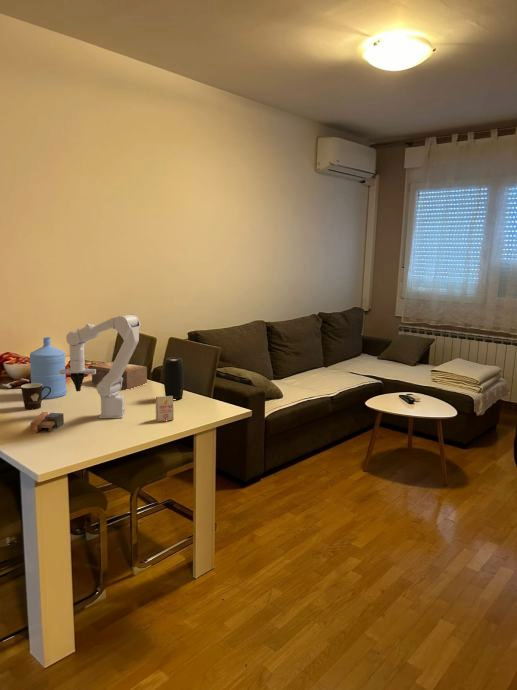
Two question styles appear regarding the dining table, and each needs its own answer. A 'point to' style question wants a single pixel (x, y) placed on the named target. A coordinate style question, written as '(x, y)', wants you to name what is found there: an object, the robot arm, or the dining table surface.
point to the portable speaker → (174, 377)
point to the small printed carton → (164, 408)
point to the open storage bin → (56, 419)
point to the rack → (42, 423)
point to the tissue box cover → (130, 376)
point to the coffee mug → (33, 395)
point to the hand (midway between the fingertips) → (78, 390)
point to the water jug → (48, 369)
